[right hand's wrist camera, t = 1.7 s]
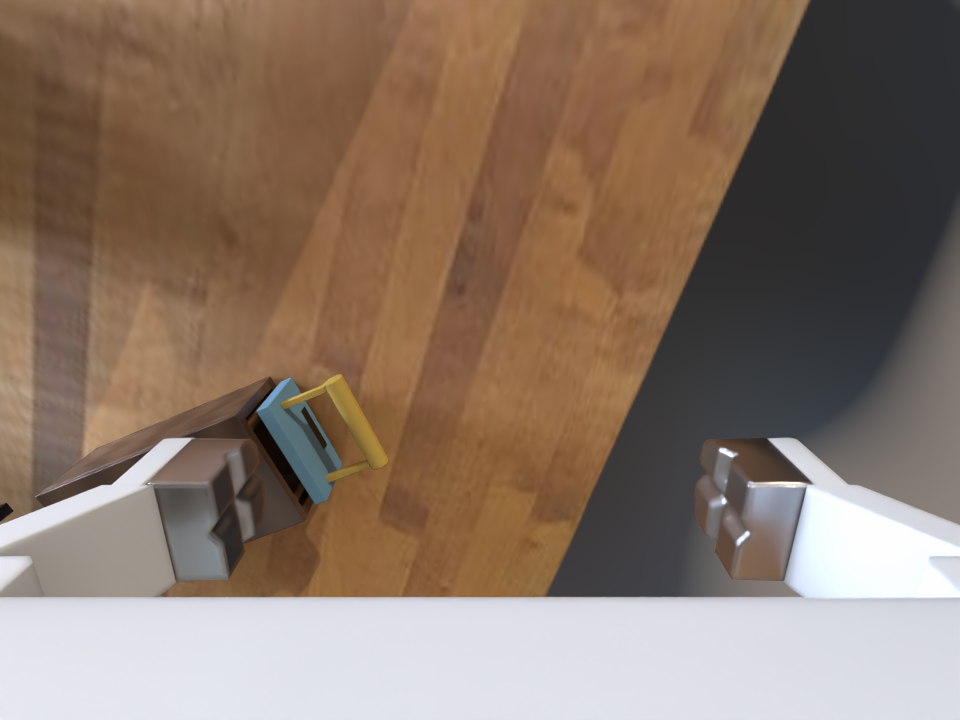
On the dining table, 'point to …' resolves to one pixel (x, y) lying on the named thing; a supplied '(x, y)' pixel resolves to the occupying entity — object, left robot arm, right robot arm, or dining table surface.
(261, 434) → the drawer
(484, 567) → the dining table surface
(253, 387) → the cabinet
